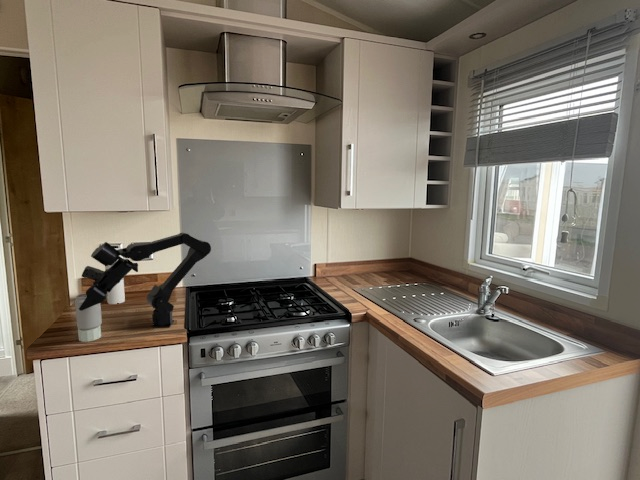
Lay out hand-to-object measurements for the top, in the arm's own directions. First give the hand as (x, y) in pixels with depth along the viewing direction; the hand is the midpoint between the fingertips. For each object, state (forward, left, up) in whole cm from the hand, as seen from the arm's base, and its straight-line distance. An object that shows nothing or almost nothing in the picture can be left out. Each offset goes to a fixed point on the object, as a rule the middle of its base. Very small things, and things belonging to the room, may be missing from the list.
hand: (82, 305), depth 128 cm
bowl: (-1, 0, -12) cm, 12 cm away
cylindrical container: (+8, -42, -12) cm, 45 cm away
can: (-2, 0, -8) cm, 8 cm away
